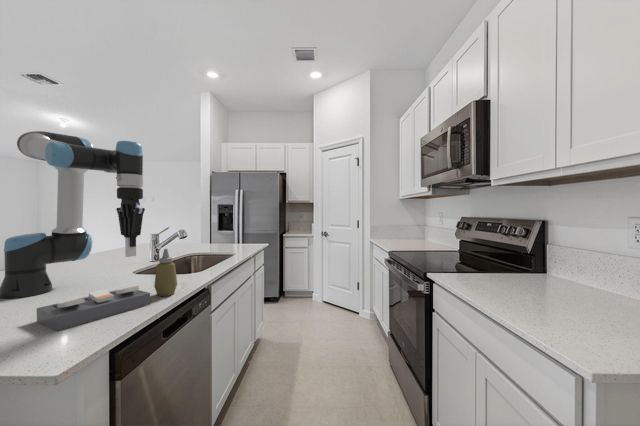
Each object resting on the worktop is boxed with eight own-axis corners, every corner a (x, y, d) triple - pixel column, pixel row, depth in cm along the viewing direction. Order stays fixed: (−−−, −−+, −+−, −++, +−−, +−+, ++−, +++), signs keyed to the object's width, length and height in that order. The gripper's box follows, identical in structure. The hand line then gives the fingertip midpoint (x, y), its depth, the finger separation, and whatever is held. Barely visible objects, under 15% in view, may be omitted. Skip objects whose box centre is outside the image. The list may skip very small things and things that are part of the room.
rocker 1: (57, 307, 88) (57, 303, 88) (75, 303, 91) (75, 299, 92) (66, 306, 85) (66, 302, 85) (84, 302, 89) (84, 298, 89)
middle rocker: (88, 296, 95) (88, 292, 94) (103, 292, 99) (104, 289, 98) (97, 302, 92) (98, 299, 92) (113, 299, 96) (113, 295, 96)
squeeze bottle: (167, 298, 111) (167, 250, 111) (149, 296, 113) (149, 250, 112) (181, 292, 119) (181, 247, 119) (164, 290, 121) (164, 247, 120)
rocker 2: (116, 293, 102) (115, 290, 102) (129, 290, 105) (128, 287, 106) (125, 292, 99) (125, 288, 99) (138, 289, 103) (138, 285, 103)
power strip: (28, 317, 91) (27, 302, 91) (118, 295, 114) (118, 283, 114) (57, 331, 81) (57, 314, 81) (150, 304, 104) (150, 291, 104)
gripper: (107, 187, 100) (108, 256, 101) (129, 186, 94) (130, 259, 94) (130, 188, 107) (131, 253, 107) (152, 187, 101) (153, 256, 101)
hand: (130, 256), depth 101 cm, fingers closed
